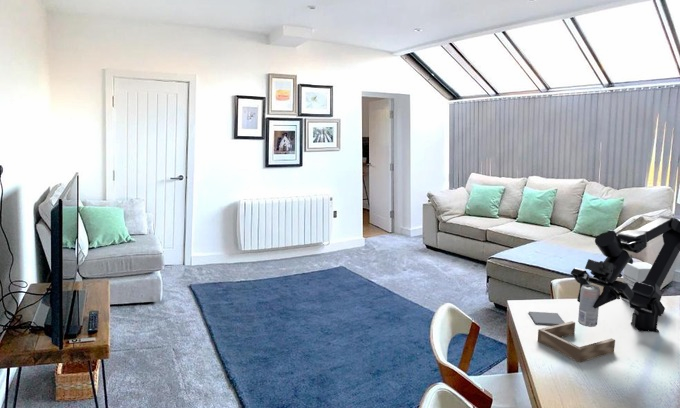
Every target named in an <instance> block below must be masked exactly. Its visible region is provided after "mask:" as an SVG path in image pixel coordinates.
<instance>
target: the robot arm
mask: <svg viewBox="0 0 680 408" xmlns="http://www.w3.org/2000/svg"><path fill="white" fill-rule="evenodd" d="M661 235H662V236H661ZM659 236H661V237H662V241H663V245H662V247H661V249H660V250H659V252H658V254H657V256H656V258H655V260H654V261H653V264H651V265H652V267H651V269H650V271H649V273H648V275H647V276H646V278H645V280H644V281H642V282H636V283H635V284H634V286H633V288H632V290H631V288H630V287H629V285H628V284H627V283H624V282H623V281H620V280H617V279H618V278H619V279H621V278H623V274H622V272H623V271H624V268H625V266H626V265H627V263H630V264H633V263H634V260H633V255H632V254H629V252H630V253H633V254H634V253H635V254H639V253H641V252H642V251H643V250H645V248H646V247H647V245H648V242H650V241H652V240H654V239H655V238H657V237H659ZM594 244H595V245H596V247H597V248H598V249H599V251H600V252H601V253H602V255H603V256H605V257H606V258H605V259H604V261H602V260H600V261H596V260H594V259H589V258H588V259H587V262H586V264H585V267H584V269H582V268H579V267H574V268H573V269H572V270H571V272H570V275H571V277H572V278H574V280H575V281H576V282H577V283H578V284H579V291H578V295H577V299H576V300H577V302H578V303H580V292H581V287H582V285H592V284H593V285H596V286H599V287H602V292H600V296H599V298H598V299H597V300H596V302H595V304H594V306H593V307H594V308H595V309H596V308H598V307H599V308H600V307H602V306H604V305H606V304H607V303H610V302H613V301H615V300H621V298H623V299H626V300H629V302H630V303H629V302H628V303H629V307H630V308H631V309H634V312H633V313H632V317H631V322H630V325H631V326H632V327H634V329H635V330H637V331H638V332H648V333H650V332H651V333H660V330H659V329H658V320H659V317H662V315H663V314H664V313H665V310H666V307H665V306H664V305H663V303H662V301H661V300H662V297H663V296H662V291H661V287H662V285H663V283H664V281H665V279H666V278H667V275H668V274H669V271H670V270H671V268H672V266H673V264H674V263H675V261H676V259H677V257H678V255H679V254H680V220H679V219H678V218H676V217H674V216H668V215H664V214H663V215H659V216H658V217H657V219H654V220H652V221H650V222H648V223H647V224H645V225H643V226H641V227H639V228H637V229H627V230H624V231H623V230H622V231H621V232H619V233H618V234H617V232H616V230H612V229H608V230H607V231H606V232H602V233H600V234H599V235H597V236H595V239H594ZM585 269H586V270H585ZM587 270H589V271H590V274H591V275H593V276H591V275H590V274H589V273H588V271H587ZM623 299H622V300H623Z"/></svg>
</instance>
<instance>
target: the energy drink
mask: <svg viewBox="0 0 680 408" xmlns="http://www.w3.org/2000/svg"><path fill="white" fill-rule="evenodd" d="M600 295H601V290H600V286H598V285H595V284H591V285H582V287H581V292H580V302H579V307H578V319H577V322H578V324H579V325H582V326H583V327H589V328H593V327H597V325H598V319H599V318H598V317H599V308H600V307H598V308H596V309H595V308H594V307H593V306H594V304H595V302H596V300H597V299H598V298H599V296H600Z"/></svg>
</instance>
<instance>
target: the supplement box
mask: <svg viewBox="0 0 680 408" xmlns="http://www.w3.org/2000/svg"><path fill="white" fill-rule="evenodd" d="M652 265H653V264H650V263H649V262H646V261H643V262H642V261H639V262H638V261H637V262H636V261H635V262H634V261H633V264H630V263H627V265H626V266H625V268H624V269H623V274H622V282H624V283H627V284H628V285H629V287H630V288H631V290H632V288H633V286H634V284H635V283H636V282H642V281H644V280H645V278H646V276H647V275H648V273H649V271H650V269H651V267H652ZM621 299H622V300H623V301H625V302H627V303H629V304H630V302H629V300H626V299H623V298H621V297H620V300H621Z"/></svg>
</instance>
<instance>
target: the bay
mask: <svg viewBox="0 0 680 408" xmlns="http://www.w3.org/2000/svg"><path fill="white" fill-rule="evenodd" d="M537 331H538V333H537V342H538V343H541V344H543V345H544V346H546V347H548V348H550V349H552V350H553V351H556V352H558V353H560V354H562V355H564V356H565V357H568V358H569V359H571V360H574V362H577V363H581V362H586V361H589V360H592V359H596V358H599V357H603V356H607V355H610V354H612V353H615V346H616V339H614V338H609V339H608V338H607V339H604V340H601V341H597V342H594V343H589V344H586V345H582V346H578V345H577V344H573V343H571V342H570V341H567V340H565V339H563V338H564V337H567V336H568V337H570V336H572V335H573V336H574V335H575V331H576V322H575V321H568V322H565V323H563V324H559V325H549V326H546V327H543V328H538V330H537Z"/></svg>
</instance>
